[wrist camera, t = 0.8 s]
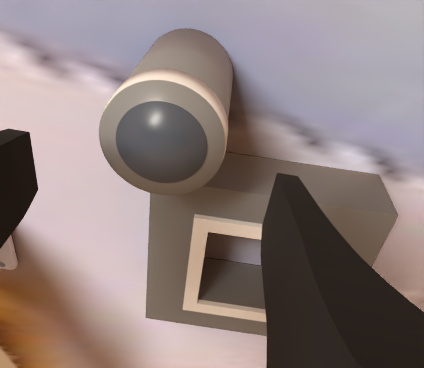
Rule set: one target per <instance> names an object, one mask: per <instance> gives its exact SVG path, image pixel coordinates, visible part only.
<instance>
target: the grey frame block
mask: <svg viewBox="0 0 424 368" xmlns="http://www.w3.org/2000/svg"><path fill="white" fill-rule="evenodd" d="M277 173H282V174H289V175H295V176H298V177H299V178H300V180H301V181H302V183H303V184H304V185H305V187H306V188H307V190H308V191H309V193H310V194H311V196H312V197H313V199H314V200H315V201H316V203H317V204H318V206H319V207H320V208H321V210H322V211H323V213H324V214H325V215H326V217H327V218H328V219H329V221H330V222H331V223H332V224H333V226H334V227H335V228H336V229H337V231H338V232H339V233H340V234H341V235H342V236H343V238H344V239H345V240H346V241H347V242H348V243H349V245H350V246H351V247H352V248H353V249H354V250H355V251H356V252H357V253H358V254H359V256H360V257H361V258H362V259H363V260H364V261H365V262H366V263H367V264H368V265H370V266H371V267H372V265H373V263H374V261H375V259H376V257H377V255H378V253H379V251H380V249H381V248H382V246H383V244H384V242H385V240H386V238H387V236H388V234H389V232H390V230H391V228H392V226H393V225H394V223H395V221H396V219H397V217H398V214H397V211H396V209H395V207H394V205H393V203H392V201H391V199H390V197H389V195H388V193H387V191H386V188H385V186H384V184H383V182H382V180H381V178H380V176H379V175H376V174H369V173H363V172H356V171H349V170H343V169H336V168H329V167H323V166H316V165H309V164H303V163H296V162H289V161H283V160H276V159H269V158H262V157H256V156H249V155H242V154H236V153H229V152H225V156H224V159H223V161H222V163H221V165H220V168H219V169H218V171H217V173H216V174H215V175H214V176H213V178H212V179H211V180H210V181H208V182H207V183H206V184H205V185H203V186H202V187H200V188H198V189H196V190H194V191H191V192H188V193H184V194H179V195H159V194H154V193H150V215H149V242H148V269H147V296H146V318H150V319H156V320H163V321H170V322H176V323H183V324H190V325H196V326H203V327H210V328H216V329H223V330H230V331H237V332H243V333H250V334H257V335H263V336H267V324H266V312H265V300H264V289H263V278H262V266H258V265H252V264H245V263H238V262H232V261H225V260H218V259H212V258H205V257H204V254H205V248H206V241H207V235H208V232H212V233H218V234H225V235H232V236H239V237H245V238H252V239H259V240H261V236H262V224H263V221H264V217H265V213H266V210H267V206H268V203H269V199H270V196H271V192H272V189H273V185H274V182H275V178H276V175H277Z"/></svg>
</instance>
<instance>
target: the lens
mask: <svg viewBox="0 0 424 368" xmlns="http://www.w3.org/2000/svg"><path fill="white" fill-rule="evenodd" d="M232 83H233V68H232V64H231V60H230V58H229V56H228V54H227V52H226V50H225V49H224V47H223V46H222V45H221V44H220V43H219V42H218V41H217V40H216V39H215V38H213V37H212V36H210V35H208V34H206V33H204V32H202V31H199V30H195V29H178V30H173V31H171V32H168V33H166V34H164V35H163V36H161V37H160V38H159V39H158V40H157V41H156V42H155V43H154V44H153V45H152V47H151V48H150V49H149V51H148V52H147V53H146V55H145V56H144V57H143V59H142V60H141V61H140V63H139V64H138V65H137V67H136V68H135V69H134V71H133V72H132V73H131V75H130V76H129V77H128V79H127V80H126V81H125V82H124V83H123V84H122V85H121V86H120V87H119V88H118V90H117V91H116V92H115V94H114V95H113V96H112V98H111V99H110V100H109V102H108V103H107V105H106V107H105V109H104V111H103V114H102V117H101V120H100V126H99V139H100V144H101V148H102V151H103V153H104V156H105V158H106V159H107V161H108V163H109V164H110V166H111V167H112V168H113V170H114V171H115V172H116V173H117V174H118V175H119V176H120V177H122V178H123V179H124V180H125V181H127V182H128V183H130V184H131V185H133V186H135V187H137V188H139V189H141V190H144V191H147V192H150V193H154V194H159V195H179V194H184V193H188V192H191V191H194V190H196V189H198V188H200V187H202V186H203V185H205V184H206V183H207V182H208V181H210V180H211V179H212V178H213V176H214V175H215V174H216V173H217V171H218V169H219V168H220V165H221V163H222V161H223V159H224V156H225V152H226V145H227V137H228V117H229V108H230V100H231V91H232Z"/></svg>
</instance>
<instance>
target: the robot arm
mask: <svg viewBox="0 0 424 368" xmlns="http://www.w3.org/2000/svg"><path fill="white" fill-rule="evenodd" d="M37 191H38V185H37V179H36V172H35V165H34V159H33V152H32V146H31V139H30V133H29V132H25V131H19V130H13V129H6V130H2V131H0V269H7V270H14V269H15V268H16V267H17V265H18V261H17V257H16V253H15V249H14V245H13V241H12V237H11V234H12V233H13V231H14V230H15V228H16V227H17V226H18V224H19V223H20V222H21V220H22V219H23V217H24V216H25V214H26V212H27V210H28V208H29V206H30V205H31V203H32V201H33V199H34V197H35V195H36V193H37ZM261 265H262V278H263V289H264V300H265V312H266V324H267V368H424V312H423V311H421V310H420V309H419V308H418V307H416V306H415V305H414V304H412V303H411V302H410V301H409V300H408V299H406V298H405V297H404V296H403V295H402V294H400V293H399V292H398V291H397V290H396V289H394V288H393V287H392V286H391V285H390V284H389V283H387V282H386V281H385V280H384V279H383V278H382V277H381V276H380V275H379V274H378V273H377V272H376V271H375V270H374V269H373V268H372V267H371V266H370V265H368V264H367V263H366V262H365V261H364V260H363V259H362V258H361V257H360V256H359V254H358V253H357V252H356V251H355V250H354V249H353V248H352V247H351V246H350V245H349V243H348V242H347V241H346V240H345V239H344V238H343V236H342V235H341V234H340V233H339V232H338V231H337V229H336V228H335V227H334V226H333V224H332V223H331V222H330V221H329V219H328V218H327V217H326V215H325V214H324V213H323V211H322V210H321V208H320V207H319V206H318V204H317V203H316V201H315V200H314V199H313V197H312V196H311V194H310V193H309V191H308V190H307V188H306V187H305V185H304V184H303V183H302V181H301V180H300V178H299V177H298V176H295V175H289V174H282V173H277V175H276V178H275V182H274V185H273V189H272V192H271V196H270V199H269V203H268V206H267V210H266V213H265V217H264V221H263V224H262V236H261Z"/></svg>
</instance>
